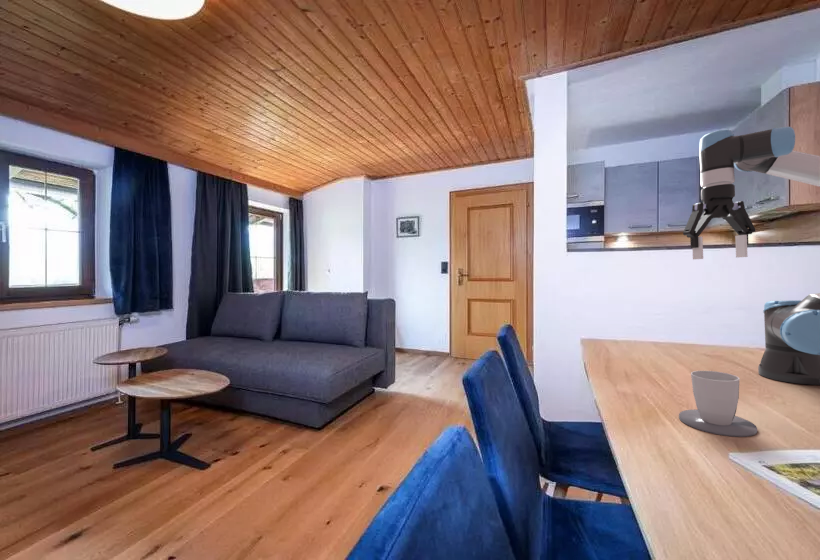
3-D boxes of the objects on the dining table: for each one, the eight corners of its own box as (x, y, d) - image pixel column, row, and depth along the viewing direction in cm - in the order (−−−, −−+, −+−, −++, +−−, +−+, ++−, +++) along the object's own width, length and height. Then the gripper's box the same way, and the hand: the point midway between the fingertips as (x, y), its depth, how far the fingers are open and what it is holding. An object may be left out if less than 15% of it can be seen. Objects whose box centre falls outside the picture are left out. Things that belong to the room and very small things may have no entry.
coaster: (716, 410, 85) (716, 407, 85) (775, 434, 72) (775, 431, 72) (664, 413, 84) (664, 411, 84) (715, 438, 71) (715, 436, 71)
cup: (751, 429, 73) (749, 381, 73) (706, 427, 75) (704, 380, 75) (724, 414, 81) (723, 370, 81) (684, 412, 83) (683, 370, 83)
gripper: (744, 188, 108) (746, 257, 108) (666, 190, 107) (669, 260, 107) (770, 181, 101) (773, 255, 101) (687, 184, 99) (690, 259, 99)
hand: (719, 258), depth 104 cm, fingers open, 13 cm apart
